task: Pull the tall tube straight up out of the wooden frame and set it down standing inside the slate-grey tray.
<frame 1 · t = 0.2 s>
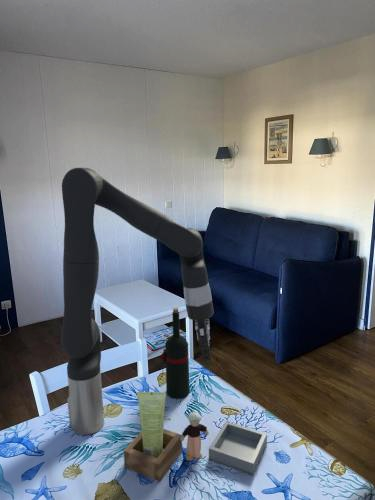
hand: (206, 352, 108), 23 cm above the table, tool pointing down, fingers open, 8 cm apart
wooden frame: (154, 459, 99), on the table
tray: (238, 452, 101), on the table
tube: (154, 459, 99), resting in wooden frame
grandmother figurine: (195, 456, 100), on the table
wine bottle: (174, 392, 129), on the table
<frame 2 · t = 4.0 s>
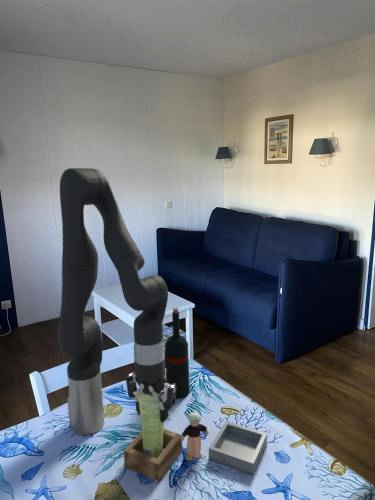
hand: (152, 416, 96), 13 cm above the table, tool pointing down, fingers closed on tube, 6 cm apart
tube: (154, 459, 99), resting in wooden frame, touching gripper
everything else where it was.
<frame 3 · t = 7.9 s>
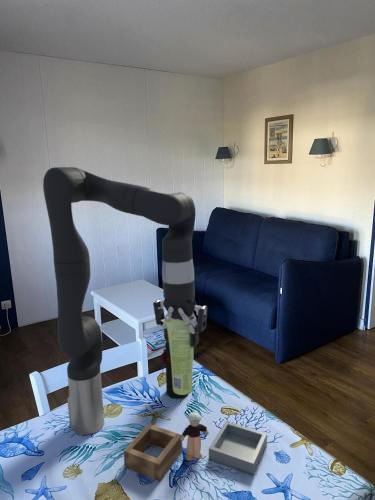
hand: (181, 343, 93), 32 cm above the table, tool pointing down, fingers closed on tube, 6 cm apart
tube: (183, 390, 95), point 19 cm above the table, touching gripper
everything else where it was.
when the fingers open (15 cm above the table, at t = 11.7 s): tube drops 2 cm, resting on tray.
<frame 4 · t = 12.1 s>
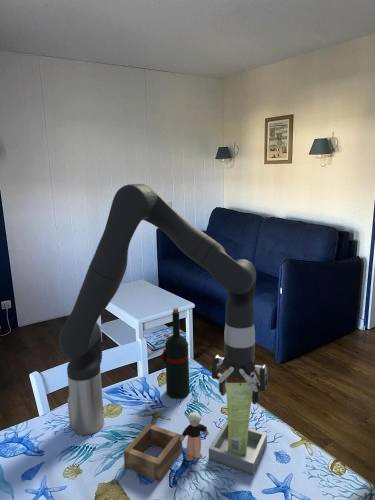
hand: (239, 398, 97), 16 cm above the table, tool pointing down, fingers open, 8 cm apart
tube: (238, 450, 101), resting on tray
everything else where it was.
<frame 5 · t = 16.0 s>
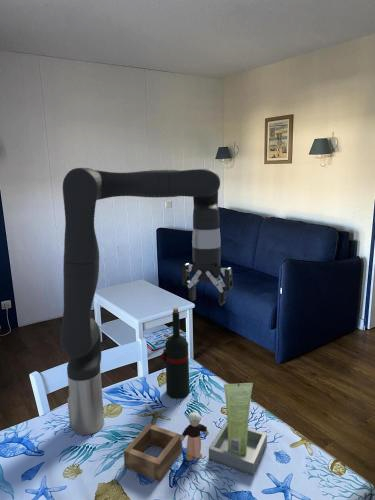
hand: (207, 302, 104), 38 cm above the table, tool pointing down, fingers open, 8 cm apart
nothing on the table moved.
at the end: tube inside the target area on the tray (0.1 cm from its centre), point 0.4 cm above the tray's base; the gripper is holding nothing; tube tilted 0° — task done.
